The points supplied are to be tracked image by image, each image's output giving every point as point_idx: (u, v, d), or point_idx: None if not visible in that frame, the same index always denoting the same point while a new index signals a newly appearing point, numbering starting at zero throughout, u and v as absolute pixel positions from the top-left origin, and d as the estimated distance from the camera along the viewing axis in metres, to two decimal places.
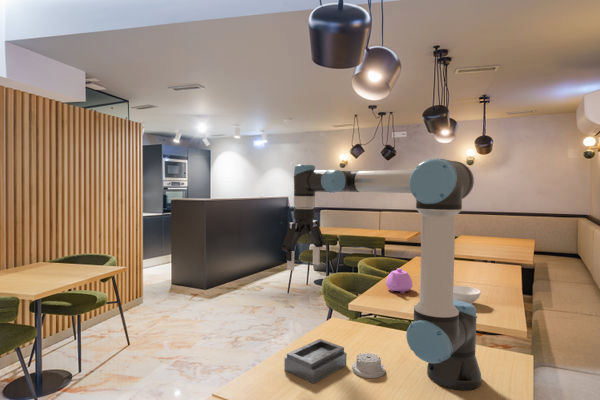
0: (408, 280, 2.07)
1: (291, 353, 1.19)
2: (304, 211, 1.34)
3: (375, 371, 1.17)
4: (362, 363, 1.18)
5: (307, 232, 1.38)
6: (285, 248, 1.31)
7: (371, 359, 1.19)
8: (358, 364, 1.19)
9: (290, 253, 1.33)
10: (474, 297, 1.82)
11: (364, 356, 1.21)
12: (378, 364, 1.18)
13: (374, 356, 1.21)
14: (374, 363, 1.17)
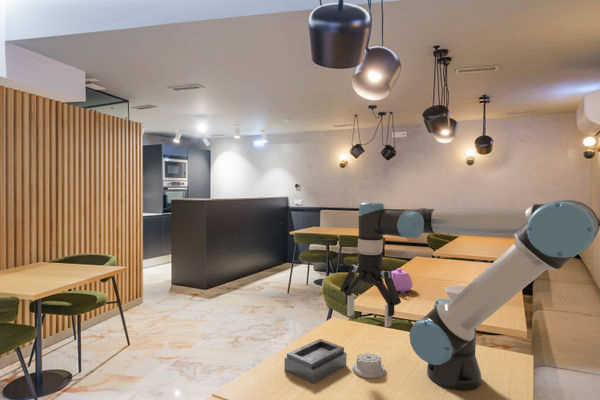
0: (408, 280, 2.07)
1: (291, 353, 1.19)
2: None
3: (375, 371, 1.17)
4: (362, 363, 1.17)
5: (369, 281, 1.18)
6: None
7: (371, 359, 1.19)
8: (358, 364, 1.19)
9: (347, 296, 1.24)
10: None
11: (364, 356, 1.21)
12: (378, 364, 1.18)
13: (374, 356, 1.21)
14: (374, 363, 1.17)
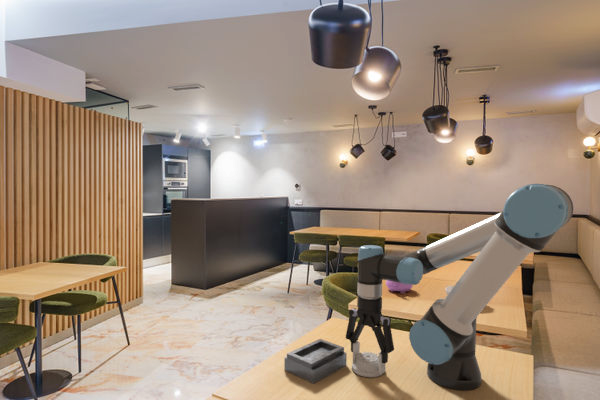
0: None
1: (291, 353, 1.19)
2: (357, 298, 1.20)
3: (374, 370, 1.17)
4: (361, 362, 1.18)
5: (369, 324, 1.19)
6: None
7: (370, 358, 1.19)
8: (357, 363, 1.19)
9: (352, 344, 1.23)
10: None
11: (363, 355, 1.21)
12: (377, 363, 1.18)
13: (373, 355, 1.21)
14: (373, 362, 1.17)
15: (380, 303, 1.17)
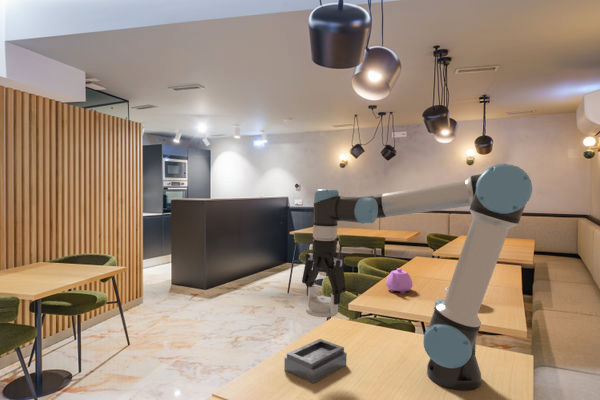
0: (408, 280, 2.07)
1: (291, 353, 1.19)
2: None
3: (327, 311, 1.18)
4: (314, 303, 1.19)
5: (323, 267, 1.20)
6: None
7: (324, 300, 1.20)
8: (311, 305, 1.20)
9: None
10: None
11: (318, 298, 1.22)
12: (330, 305, 1.19)
13: (328, 298, 1.22)
14: (326, 303, 1.18)
15: (334, 245, 1.18)
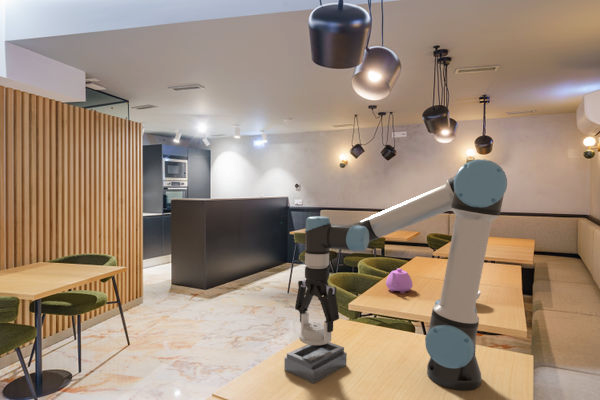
0: (408, 280, 2.07)
1: (291, 353, 1.19)
2: None
3: (320, 339, 1.18)
4: (308, 331, 1.19)
5: (315, 294, 1.20)
6: None
7: (317, 327, 1.20)
8: (304, 332, 1.20)
9: None
10: None
11: (311, 325, 1.22)
12: (323, 332, 1.19)
13: (321, 325, 1.22)
14: (319, 331, 1.18)
15: (326, 273, 1.18)
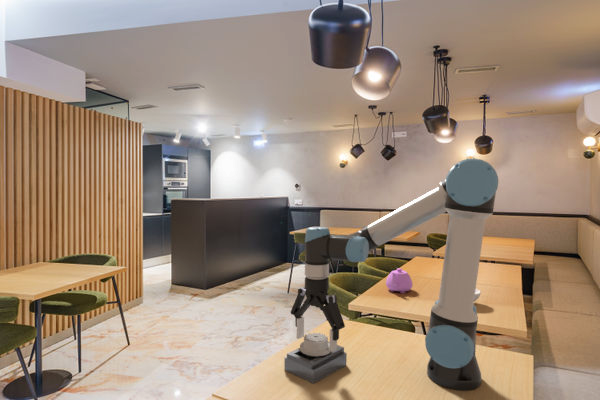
0: (408, 280, 2.07)
1: (291, 353, 1.19)
2: None
3: (320, 349, 1.18)
4: (308, 342, 1.19)
5: (315, 305, 1.20)
6: None
7: (317, 338, 1.20)
8: (305, 343, 1.20)
9: (297, 319, 1.26)
10: (474, 297, 1.82)
11: (311, 335, 1.22)
12: (324, 343, 1.19)
13: (321, 335, 1.22)
14: (320, 342, 1.19)
15: (326, 283, 1.19)
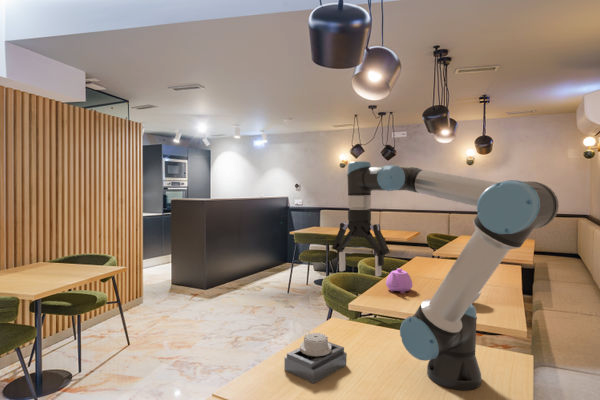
0: (408, 280, 2.07)
1: (291, 353, 1.19)
2: (348, 211, 1.27)
3: (320, 349, 1.18)
4: (308, 342, 1.19)
5: (359, 235, 1.26)
6: None
7: (317, 338, 1.20)
8: (305, 343, 1.20)
9: (339, 253, 1.32)
10: None
11: (311, 335, 1.22)
12: (324, 343, 1.19)
13: (321, 335, 1.22)
14: (320, 342, 1.19)
15: (369, 214, 1.25)
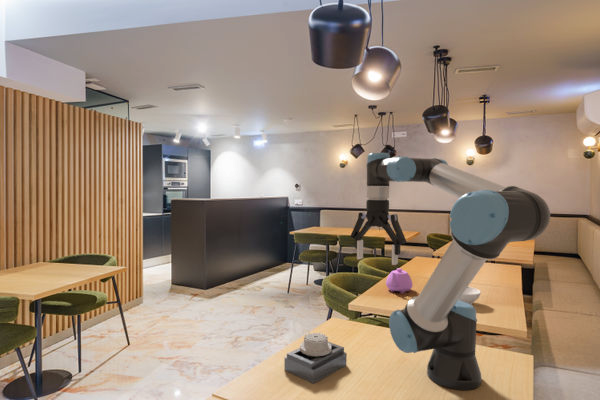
0: (408, 280, 2.07)
1: (291, 353, 1.19)
2: (366, 201, 1.31)
3: (320, 349, 1.18)
4: (308, 342, 1.19)
5: (377, 225, 1.30)
6: None
7: (317, 338, 1.20)
8: (305, 343, 1.20)
9: (357, 241, 1.36)
10: (474, 297, 1.82)
11: (311, 335, 1.22)
12: (324, 343, 1.19)
13: (321, 335, 1.22)
14: (320, 342, 1.19)
15: (387, 204, 1.28)
